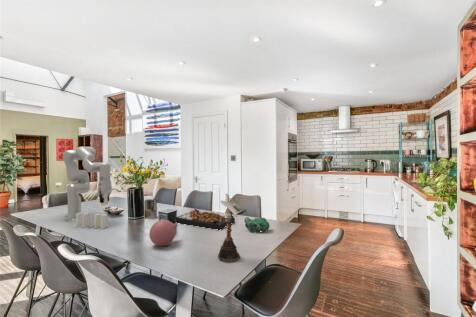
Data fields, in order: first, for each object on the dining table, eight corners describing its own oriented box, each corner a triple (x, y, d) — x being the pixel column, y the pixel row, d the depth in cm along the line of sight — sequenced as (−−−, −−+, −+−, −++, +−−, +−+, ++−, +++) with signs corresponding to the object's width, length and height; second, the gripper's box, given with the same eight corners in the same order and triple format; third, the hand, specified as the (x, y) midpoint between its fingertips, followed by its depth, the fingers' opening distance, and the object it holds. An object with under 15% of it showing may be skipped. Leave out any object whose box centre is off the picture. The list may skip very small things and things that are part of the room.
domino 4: (101, 205, 183) (101, 192, 183) (105, 204, 188) (106, 191, 188) (103, 205, 183) (103, 192, 183) (107, 204, 188) (107, 191, 188)
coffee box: (157, 217, 214) (157, 199, 213) (153, 219, 207) (154, 200, 207) (147, 216, 214) (147, 199, 214) (143, 218, 208) (144, 200, 208)
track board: (71, 228, 178) (71, 227, 178) (81, 225, 187) (81, 224, 187) (102, 231, 173) (102, 230, 173) (111, 227, 182) (111, 226, 182)
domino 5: (100, 228, 175) (100, 215, 175) (105, 227, 180) (105, 213, 180) (102, 229, 175) (102, 215, 175) (107, 227, 180) (107, 214, 180)
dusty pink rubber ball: (186, 242, 151) (186, 218, 151) (159, 252, 135) (160, 225, 135) (170, 237, 160) (170, 214, 160) (144, 246, 144) (144, 220, 144)
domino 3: (94, 228, 177) (94, 215, 177) (99, 226, 182) (99, 213, 181) (96, 228, 176) (96, 215, 176) (101, 226, 181) (101, 213, 181)
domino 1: (75, 226, 180) (75, 213, 180) (81, 225, 185) (81, 212, 185) (77, 227, 180) (77, 213, 180) (83, 225, 185) (83, 212, 185)
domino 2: (81, 227, 179) (81, 214, 179) (87, 225, 184) (87, 212, 184) (83, 227, 179) (83, 214, 178) (89, 225, 183) (89, 212, 183)
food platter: (172, 223, 196) (172, 210, 196) (191, 216, 218) (191, 205, 218) (219, 231, 176) (219, 217, 176) (234, 223, 198) (234, 210, 198)
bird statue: (252, 257, 129) (253, 192, 129) (241, 266, 118) (241, 196, 118) (227, 250, 137) (227, 190, 137) (213, 259, 126) (214, 193, 126)
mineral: (249, 235, 164) (249, 221, 164) (241, 229, 179) (241, 216, 179) (272, 232, 171) (273, 219, 171) (262, 226, 186) (262, 214, 186)
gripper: (100, 179, 176) (100, 204, 176) (116, 177, 193) (116, 200, 193) (92, 179, 178) (91, 203, 178) (108, 177, 194) (108, 199, 194)
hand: (104, 201), depth 185 cm, fingers closed on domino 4, 4 cm apart
